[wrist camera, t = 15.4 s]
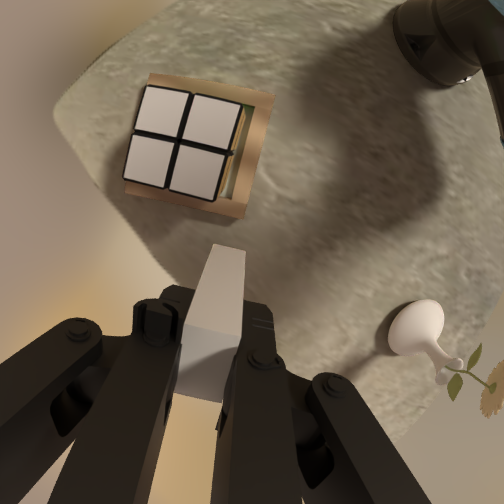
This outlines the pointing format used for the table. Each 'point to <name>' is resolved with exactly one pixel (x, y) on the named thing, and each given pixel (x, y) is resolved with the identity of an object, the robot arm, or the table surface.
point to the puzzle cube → (183, 142)
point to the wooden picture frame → (244, 155)
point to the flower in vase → (441, 352)
